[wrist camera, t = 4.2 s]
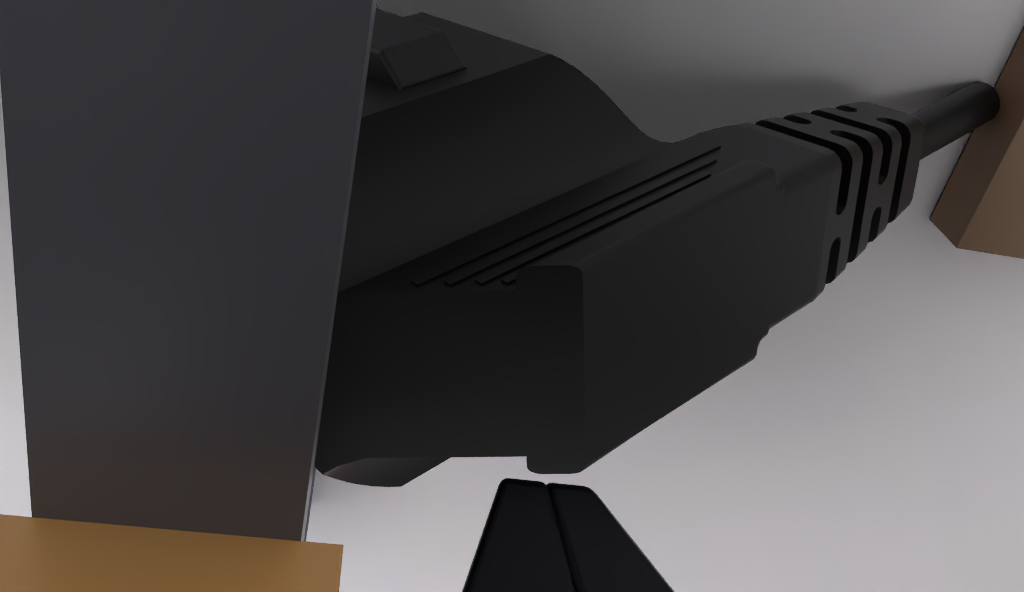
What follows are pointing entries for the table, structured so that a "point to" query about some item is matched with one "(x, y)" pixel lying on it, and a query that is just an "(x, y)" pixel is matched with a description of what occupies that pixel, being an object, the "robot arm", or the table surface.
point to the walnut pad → (991, 176)
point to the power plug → (575, 251)
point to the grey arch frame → (176, 284)
